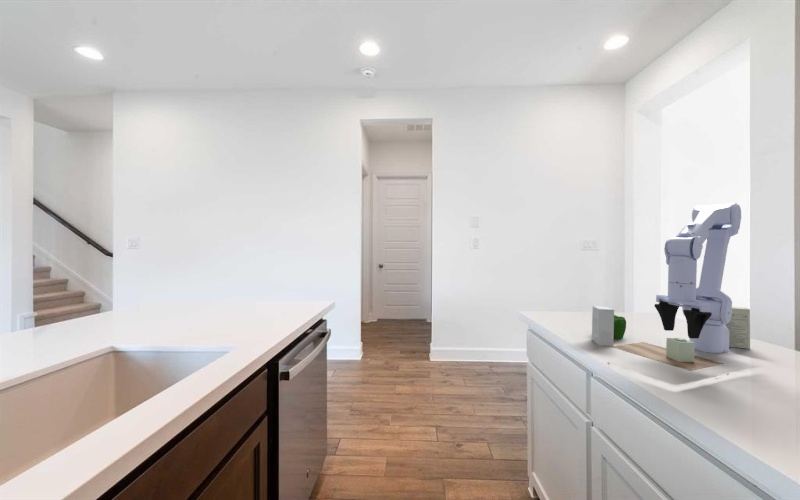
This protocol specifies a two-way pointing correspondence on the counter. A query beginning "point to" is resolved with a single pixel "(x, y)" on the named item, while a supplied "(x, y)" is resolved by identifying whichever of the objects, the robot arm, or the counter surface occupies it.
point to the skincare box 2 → (739, 328)
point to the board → (660, 355)
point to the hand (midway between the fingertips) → (680, 334)
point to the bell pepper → (619, 327)
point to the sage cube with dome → (680, 349)
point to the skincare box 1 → (603, 325)
